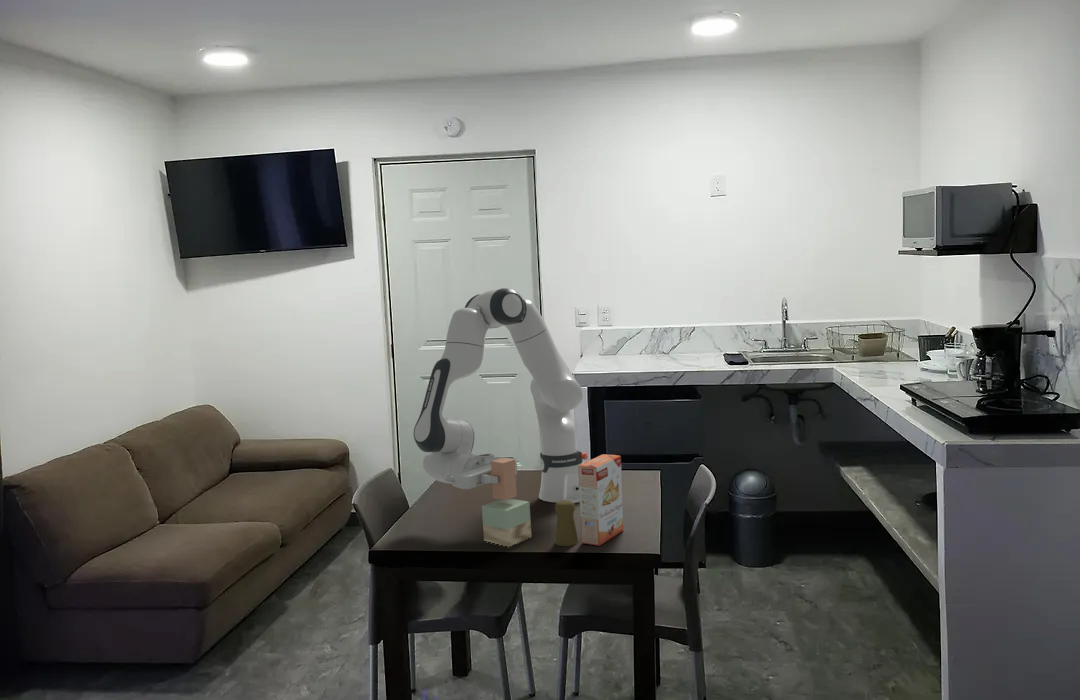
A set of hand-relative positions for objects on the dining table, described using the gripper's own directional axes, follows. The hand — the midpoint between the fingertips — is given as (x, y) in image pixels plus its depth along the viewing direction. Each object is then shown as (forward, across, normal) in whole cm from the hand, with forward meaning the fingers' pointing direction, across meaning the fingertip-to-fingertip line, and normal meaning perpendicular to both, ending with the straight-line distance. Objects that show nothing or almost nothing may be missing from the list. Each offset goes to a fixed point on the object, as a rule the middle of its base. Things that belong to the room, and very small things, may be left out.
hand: (506, 477), depth 223 cm
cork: (+14, +6, +17) cm, 23 cm away
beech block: (-1, 0, +17) cm, 17 cm away
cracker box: (+20, +15, +17) cm, 30 cm away
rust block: (-1, 0, +6) cm, 6 cm away
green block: (-1, 0, +12) cm, 12 cm away
